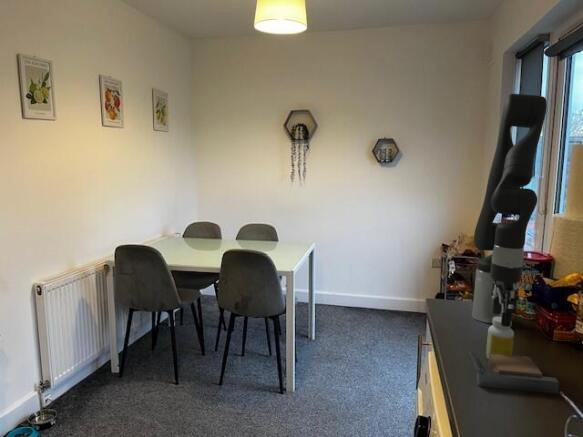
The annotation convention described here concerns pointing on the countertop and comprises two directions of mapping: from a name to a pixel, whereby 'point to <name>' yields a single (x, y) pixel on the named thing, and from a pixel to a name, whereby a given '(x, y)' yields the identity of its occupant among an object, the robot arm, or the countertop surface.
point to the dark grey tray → (513, 380)
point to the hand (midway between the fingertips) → (500, 319)
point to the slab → (513, 365)
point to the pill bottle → (499, 338)
